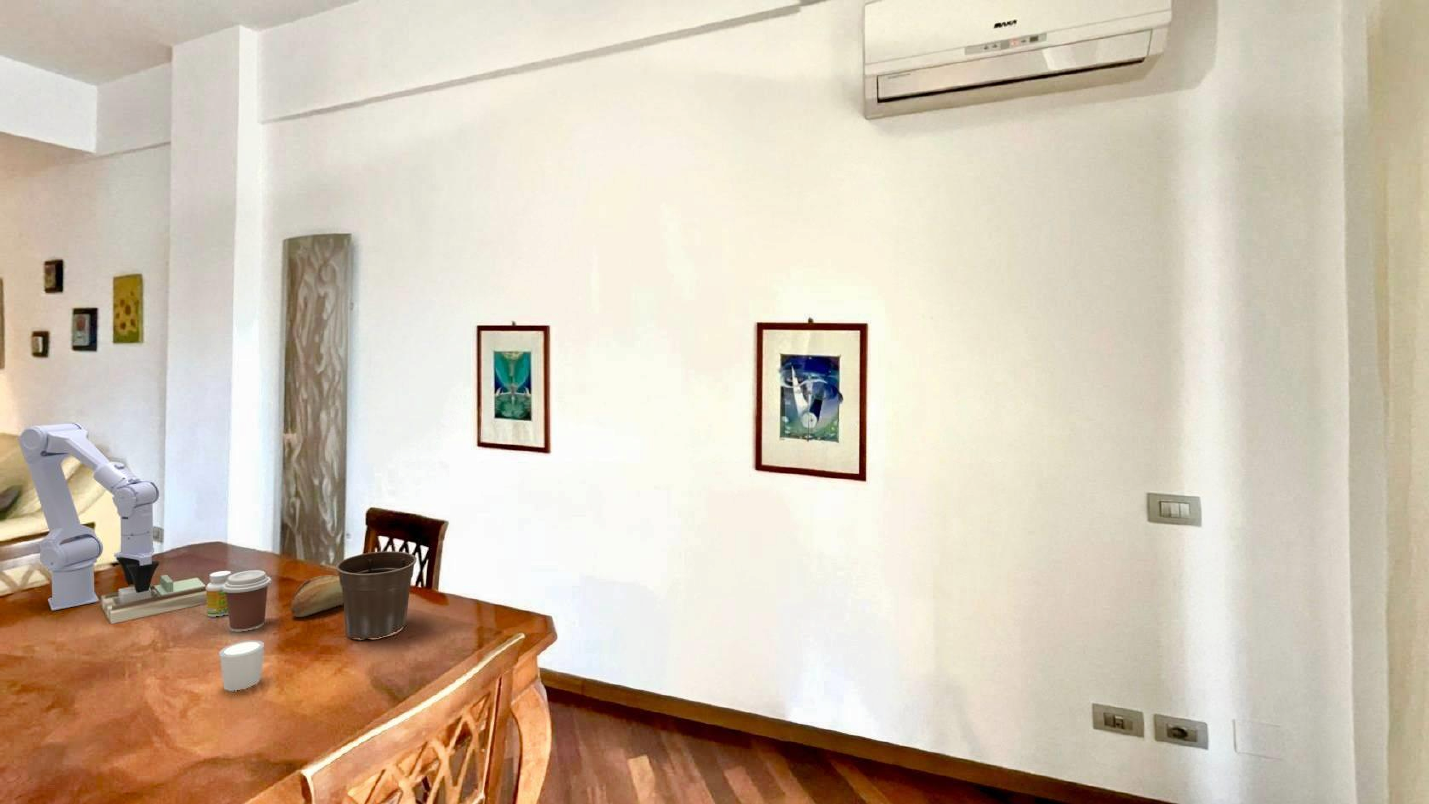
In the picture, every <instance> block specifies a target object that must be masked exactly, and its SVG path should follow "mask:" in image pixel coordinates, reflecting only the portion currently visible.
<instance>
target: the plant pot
mask: <svg viewBox="0 0 1429 804" xmlns="http://www.w3.org/2000/svg"><path fill="white" fill-rule="evenodd" d="M416 562H417V556H415V555H414V554H412V553H409V552H405V551H396V550H394V551H393V550H390V551H373V552H367V553H361V554H357V555H353V556H350V557H347V558H345V559H343V560H341V561H339V562H338V563H337V564H336V566H335V570H336V571H337V572H338V576H339V579H340V585H341V586H342V593H343V603H344V605H343V610H344V624H345V633H346V634H345V635H346V636H347V635H348V636H349V637H351V638H360V639H364V640H366V638H379V637H383V636H387V635H389V634H391V633H393V632H397V631H398V630H400V629H401V628H402V627H404V626H405V624H406V625H407V615H408V607H409V599H410V592H411V591H410V590H411V581H412V578H413V575H414V569H415V564H416ZM405 627H406V626H405ZM405 627H404V628H405ZM348 636H347V637H348ZM349 637H348V638H349ZM351 638H350V639H351Z"/></svg>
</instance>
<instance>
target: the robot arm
mask: <svg viewBox="0 0 1429 804" xmlns="http://www.w3.org/2000/svg"><path fill="white" fill-rule="evenodd" d="M17 441H18V444H19V447H20V449H21V452H22V453H21V454H22V456H23V460H24V462H25V463H26V464H27V467H28V472H29V474H30V476H31V480H32V482H33V485H34V488H35V492H36V494H37V498H38V500H39V504H40V506H41V510H42V512H43V516H44V518H45V522H46V524H47V527H48V530H49V532H48V534H47V535H45V537H43V538H42V540H41V541H39V543H38V546H39V549H40V550H39V552H40V554H39V561H40V563H41V565H42V566H43V567H44V568H45V569H46V570H47V571H48V572H51V591H52V592H51V594H52V597H49V598H48V599H47V601H48V604H49V607H50V609H51V611H57V610H62V609H68V608H71V607H73V608H74V607H79V606H82V605H88V604H93V603H97V602H99V601H100V600H99V598H98V596H97V593H96V592H95V575H94V574H95V573H94V572H95V571H94V569H95V567H94V566H95V565H94V564H96V563H98V559H99V558H100V557H101V556H102V554H103V552H104V551H103V550H104V544H103V542H102V541H101V539H100V538H99V537H98V536H97V534H96V532H95V529H93V528H92V527H89V526H86V525H83V524H82V523H81V521H80V518H79V515H78V512H77V509H76V506H75V503H74V500H73V497H72V494H71V491H70V488H69V485H68V482H67V478H66V476H65V473H64V469H63V467H62V463H63V462H64V460H65V459H67V458H69V457H71V456H72V457H73V458H75V459H76V460H77V461H79V462H81V463H82V464H83V465H85V466H86V467H88V468H89V469H90V470H91V471H93V472H94V473H93V479H94V480H95V481H96V482H97V483H98V484H99V485H101V486H102V488H104V489H106V490H107V491H108V492H109V493H111V495H112V502H113V504H114V506H115V507H116V509H117V511H116V513H117V515H118V517H120V518H119V519H120V551H119V552H115V553H114V555H113V557H114V558H115V559H116V561H117V562H118V564H120V566H121V568H122V571H123V574H124V578H125V581H126V584H127V585H128V586H130V585H131V586H132V585H133V586H134V587H135V590H136V592H137V593H140V592H144V591H148V590H149V587H150V586H151V583H152V579H153V576H154V574H155V571H156V570H157V568H158V567H159V565H160V562H159V561H158V560H153V561H152V559H153V558H152V557H153V554H154V553H155V547H154V519H153V518H154V512H153V510H154V509H153V507H154V505H153V504H154V503H156V502H157V501H158V500H159V497H160V490H159V488H158V485H156V483H155V482H154V481H151V480H145V479H144V478H139V477H138V476H136V475H135V473H133V472H131V471H130V470H129V469H128V468H127V467H126V465H125V464H124V463H122V462H119V461H110V460H109V459H108V458H107V457H106V456H105V455H104V454H103V453H102V452H101V451H100V450H99V449H98V448H97V447H96V446H95V445H94V444H93V443H92V442H91V441H90V439H89V431H88V430H86V429H84V427H83V426H82V425H81V424H79V423H77V422H67V423H60V424H59V423H57V424H48V425H46V424H45V425H30V426H27V427H26V428H24V429H23V431H22V433H21V434H20V435H19V437H18V439H17ZM69 539H70V540H69Z"/></svg>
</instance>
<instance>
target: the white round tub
mask: <svg viewBox="0 0 1429 804" xmlns="http://www.w3.org/2000/svg"><path fill="white" fill-rule="evenodd" d="M264 648H265V643H264V642H263V641H261V640H245V641H244V640H243V641H240V642H235V643H232V644H229V645H227V646H225V647H224V648H222V649H221V650H220V651H219V653H218V654H219V655H218V656H219V661H220V667H221V668H220V669H221V674H222V683H223V690H225V689H226V690H225V691H227V690H228V691H227V692H237V690H240V689H244V690H247V689H246V688H248V687H250V688H252V687H251V686H253V685H254V684H256V685H258V684H259V683H260V682H259V680H260V679H262V670H263V662H264V661H263V659H264V650H265V649H264ZM258 682H259V683H258ZM257 683H258V684H257ZM253 687H254V686H253ZM248 689H249V688H248ZM234 690H235V691H234ZM240 691H241V690H240Z"/></svg>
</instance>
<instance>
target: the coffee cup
mask: <svg viewBox="0 0 1429 804" xmlns="http://www.w3.org/2000/svg"><path fill="white" fill-rule="evenodd" d="M271 583H272V578H271V577H270V576H268V575H267V573H266V572H265V571H263V570H259V569H257V570H256V569H253V570H244V571H240V572H235V573H233V574H231V576H229V577H228V578H227V582H226V583H224V584H223V585H222V590H223V591H224V592H226V600H227V608H228V623H229V630H230V629H231V630H230V632H233V631H235V632H234V633H242V632H241V631H245V630H250V629H254V628H256V627H260V626H261V627H263V626H264V625H265V624H264V622H265V621H266V620H265V619H266V610H267V598H268V587H269V586H270V585H271ZM265 623H266V622H265ZM263 624H264V625H263ZM262 625H263V626H262ZM261 627H260V628H261ZM254 630H255V629H254Z"/></svg>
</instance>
